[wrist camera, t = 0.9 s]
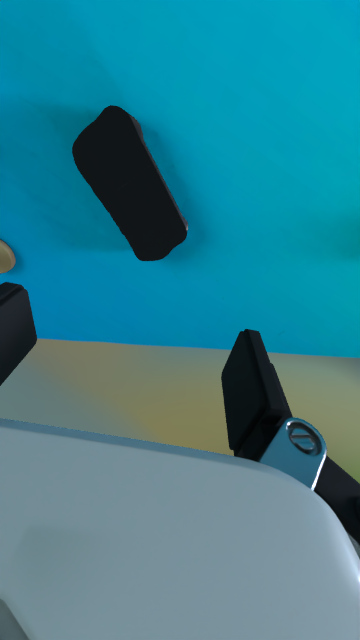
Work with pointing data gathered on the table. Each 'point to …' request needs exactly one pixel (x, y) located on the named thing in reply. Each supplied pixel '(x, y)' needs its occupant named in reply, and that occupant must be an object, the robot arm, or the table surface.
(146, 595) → the robot arm
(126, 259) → the table surface
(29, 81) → the table surface
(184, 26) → the table surface
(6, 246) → the wooden spoon
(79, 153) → the black sponge
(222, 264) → the table surface
